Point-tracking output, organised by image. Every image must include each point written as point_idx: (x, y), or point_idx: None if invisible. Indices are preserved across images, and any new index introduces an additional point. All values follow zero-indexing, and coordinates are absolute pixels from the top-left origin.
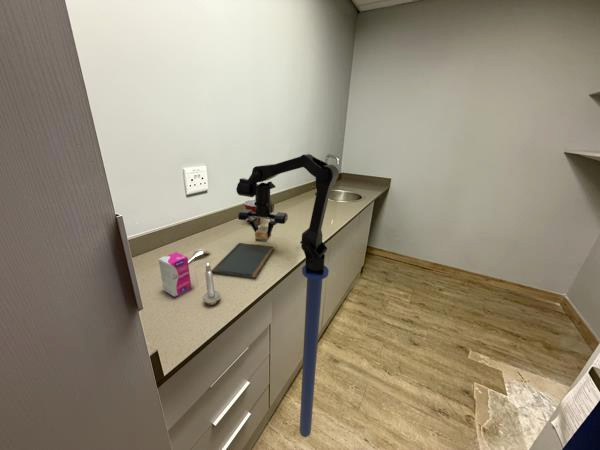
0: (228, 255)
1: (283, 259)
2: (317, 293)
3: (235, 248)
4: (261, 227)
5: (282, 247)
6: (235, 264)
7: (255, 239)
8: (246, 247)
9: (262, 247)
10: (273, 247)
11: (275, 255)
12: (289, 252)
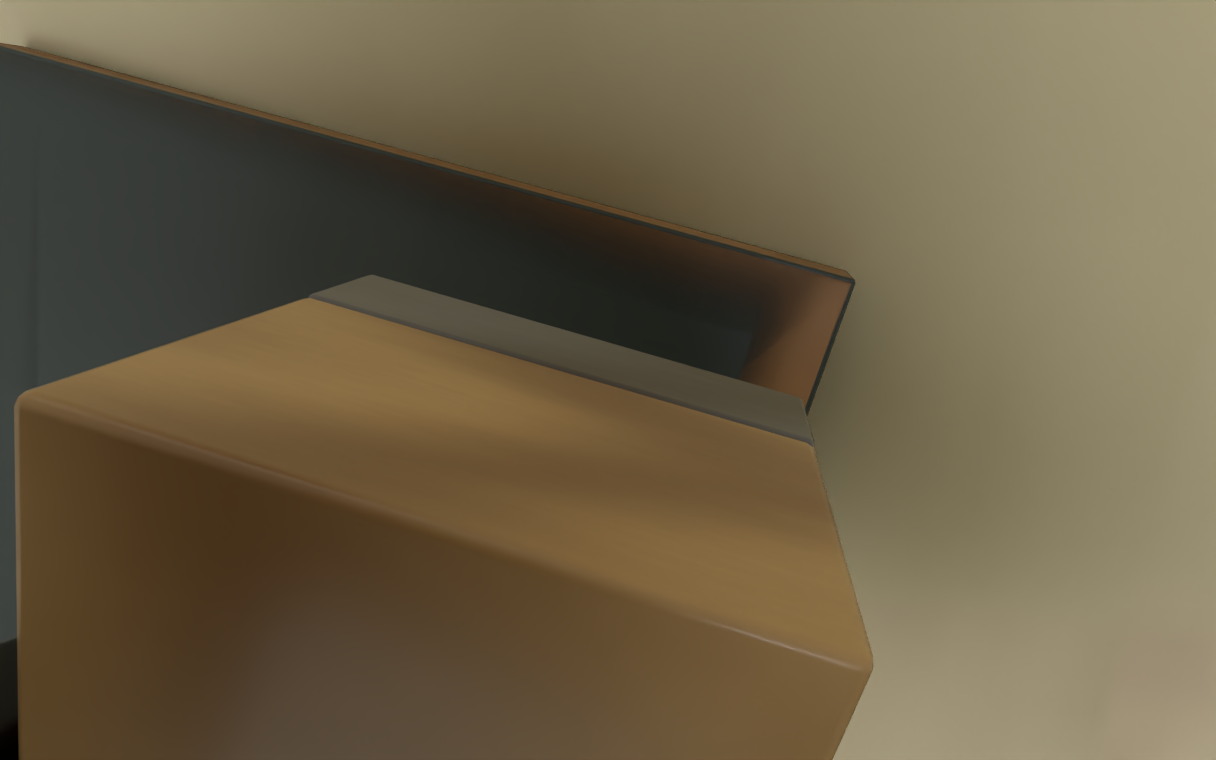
0: (13, 601)
1: (1000, 738)
2: None
3: (11, 339)
4: (146, 718)
5: (1079, 184)
6: None
7: None
8: (203, 295)
9: (552, 308)
10: (829, 321)
11: (850, 576)
12: (1211, 471)
